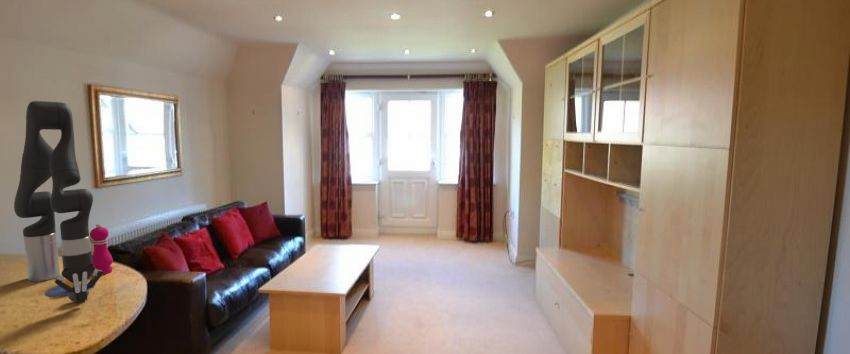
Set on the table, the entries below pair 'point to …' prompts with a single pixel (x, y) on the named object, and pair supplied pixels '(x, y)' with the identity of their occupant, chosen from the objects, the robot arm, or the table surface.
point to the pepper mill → (101, 249)
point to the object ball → (70, 283)
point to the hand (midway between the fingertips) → (81, 302)
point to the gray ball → (72, 295)
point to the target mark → (58, 291)
